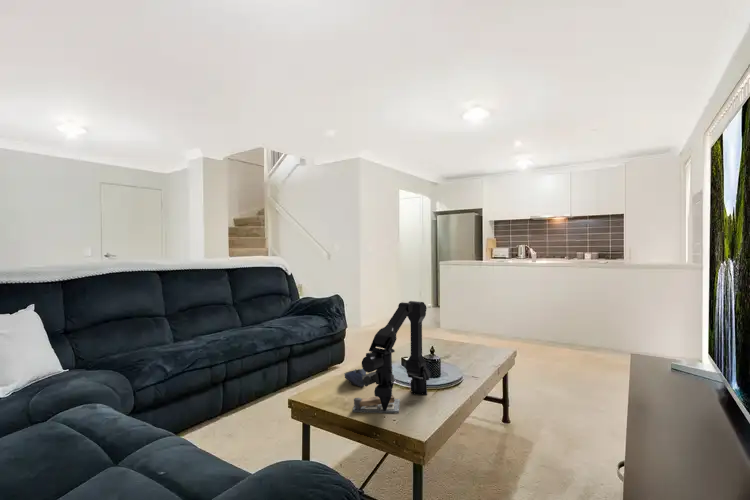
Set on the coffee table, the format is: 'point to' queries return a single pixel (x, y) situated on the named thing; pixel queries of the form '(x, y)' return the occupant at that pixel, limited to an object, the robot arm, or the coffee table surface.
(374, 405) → the label
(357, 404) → the bar
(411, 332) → the robot arm
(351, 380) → the rock
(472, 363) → the coffee table surface
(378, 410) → the chassis lid
